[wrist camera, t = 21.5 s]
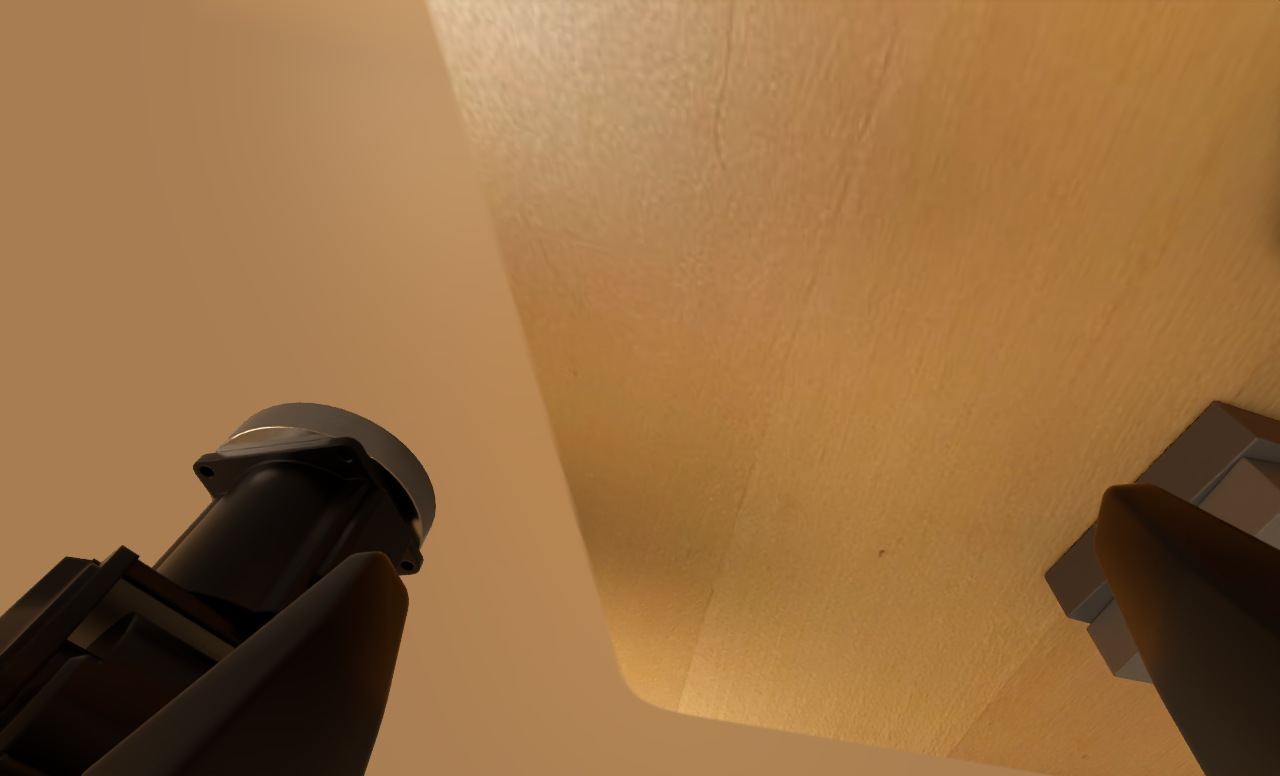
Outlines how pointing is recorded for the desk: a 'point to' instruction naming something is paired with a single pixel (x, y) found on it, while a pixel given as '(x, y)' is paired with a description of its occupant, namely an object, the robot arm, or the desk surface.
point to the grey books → (1202, 475)
